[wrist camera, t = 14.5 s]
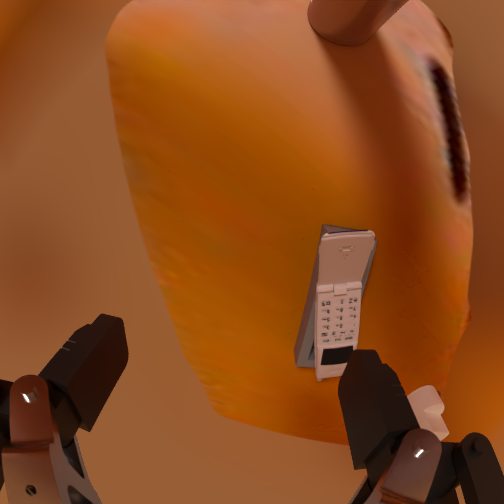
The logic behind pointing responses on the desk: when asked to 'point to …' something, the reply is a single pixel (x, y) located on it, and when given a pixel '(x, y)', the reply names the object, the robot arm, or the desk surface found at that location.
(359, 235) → the mobile phone
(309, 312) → the pen tray
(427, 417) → the cylinder with rectangular tab
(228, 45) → the desk surface
